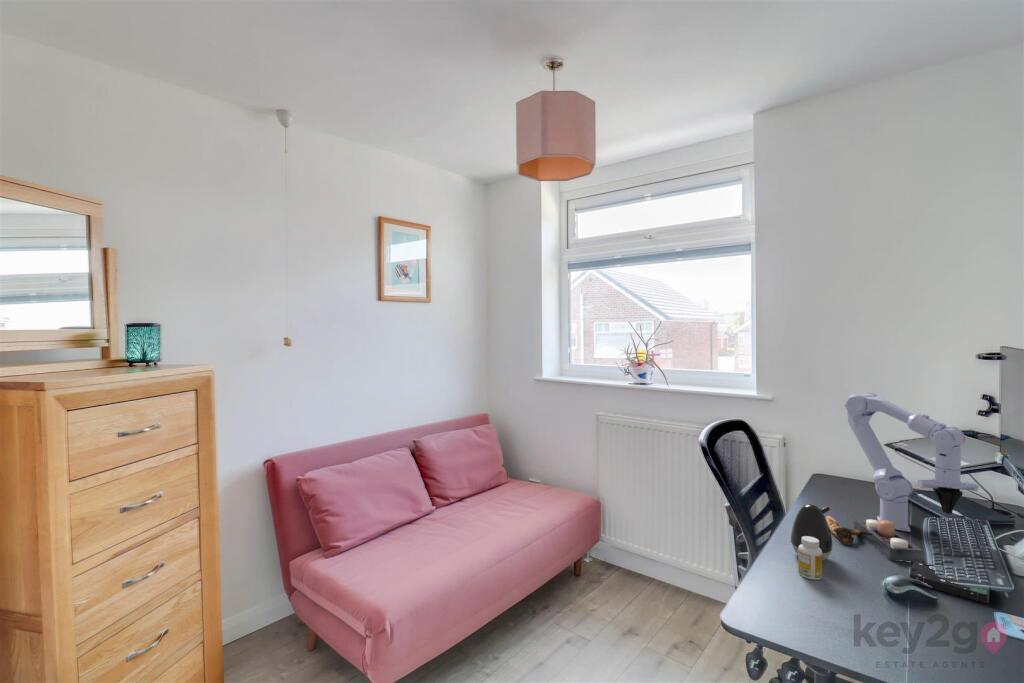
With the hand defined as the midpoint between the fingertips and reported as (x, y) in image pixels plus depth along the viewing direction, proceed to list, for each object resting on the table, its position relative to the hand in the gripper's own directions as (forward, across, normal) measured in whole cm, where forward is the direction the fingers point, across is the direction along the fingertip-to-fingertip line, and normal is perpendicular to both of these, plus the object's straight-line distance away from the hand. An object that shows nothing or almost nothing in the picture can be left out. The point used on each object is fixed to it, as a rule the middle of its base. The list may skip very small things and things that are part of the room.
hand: (947, 512), depth 147 cm
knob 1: (+9, -19, +2) cm, 21 cm away
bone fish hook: (+10, -27, +1) cm, 29 cm away
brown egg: (+6, -19, -5) cm, 20 cm away
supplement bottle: (+10, -48, -29) cm, 56 cm away
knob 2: (+9, -19, -12) cm, 24 cm away
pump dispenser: (+10, -43, -18) cm, 48 cm away
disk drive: (+10, -15, -27) cm, 33 cm away
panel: (+9, -19, -5) cm, 21 cm away
